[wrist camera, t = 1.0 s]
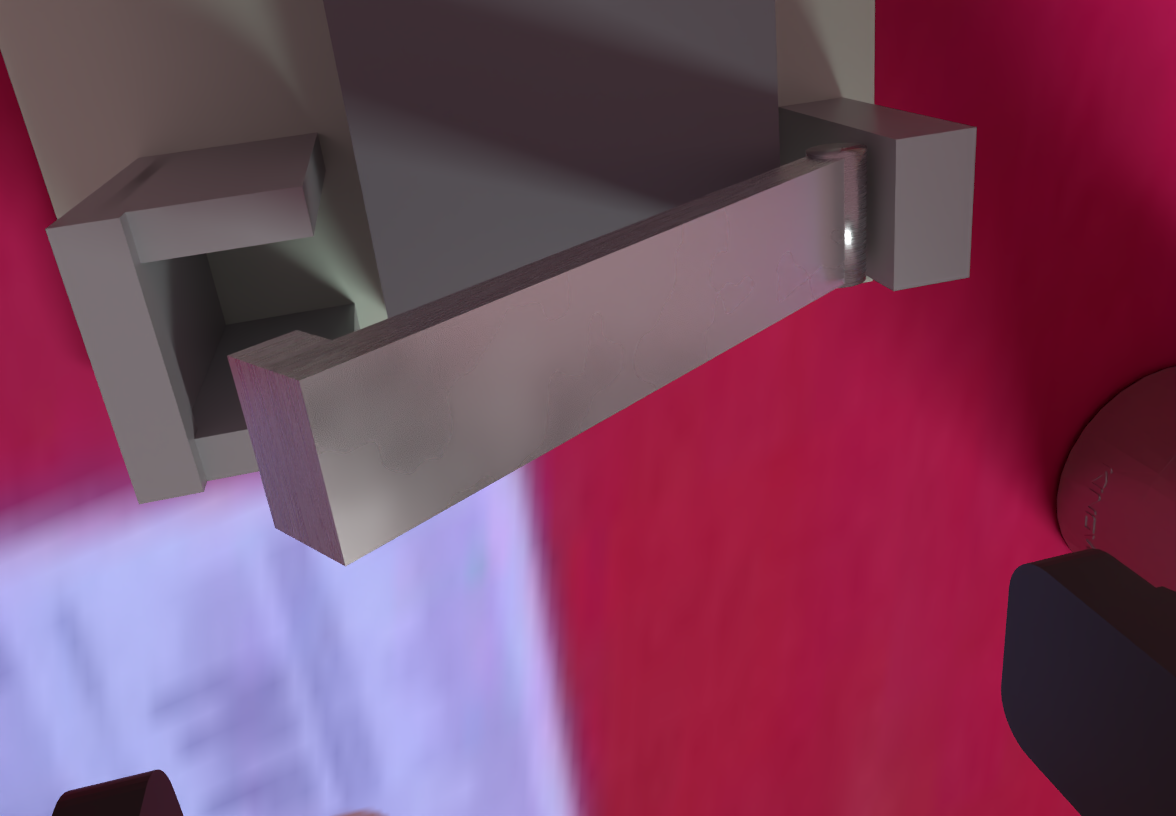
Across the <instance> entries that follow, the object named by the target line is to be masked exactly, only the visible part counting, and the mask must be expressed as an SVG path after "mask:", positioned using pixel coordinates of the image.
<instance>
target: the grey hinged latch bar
mask: <svg viewBox="0 0 1176 816" xmlns="http://www.w3.org/2000/svg"><path fill="white" fill-rule="evenodd" d="M866 219H867V146H866V145H864V144H860V143H831V144H823V145H818V146H814V147H810V148H808V149H807V150H806V157H804V158H801V159H799V160H796V161H793V162H791V163H788V164H786V165H783V166H780V167H778V168H775V169H773V170H770V171H768V172H765V173H762V174H760V175H757V176H755V177H752V178H749V179H747V180H744V181H742V182H739V183H737V184H734V185H731V186H729V187H726V188H724V189H721V190H719V191H716V192H713V193H711V194H708V195H706V196H703V197H700V198H698V199H695V200H693V201H690V202H688V203H685V204H682V205H680V206H677V207H675V208H672V209H669V210H667V211H664V212H662V213H659V214H657V215H654V216H651V217H649V218H646V219H644V220H641V221H639V222H636V223H633V224H631V225H628V226H626V227H623V228H620V229H618V230H615V231H613V232H610V233H608V234H605V235H602V236H600V237H597V238H595V239H592V240H589V241H587V242H584V243H582V244H579V245H577V246H574V247H571V248H569V249H566V250H564V251H561V252H559V253H556V254H553V255H551V256H548V257H546V258H543V259H540V260H538V261H535V262H533V263H530V264H528V265H525V266H522V267H520V268H517V269H515V270H512V271H509V272H507V273H504V274H502V275H499V276H497V277H494V278H491V279H489V280H486V281H484V282H481V283H479V284H476V285H473V286H471V287H468V288H466V289H463V290H460V291H458V292H455V293H453V294H450V295H448V296H445V297H442V298H440V299H437V300H435V301H432V302H429V303H427V304H424V305H422V306H419V307H417V308H414V309H411V310H409V311H406V312H404V313H401V314H399V315H396V316H393V317H391V318H388V319H386V320H383V321H380V322H378V323H375V324H373V325H370V326H368V327H365V328H362V329H360V330H357V331H355V332H352V333H349V334H347V335H344V336H342V337H339V338H337V339H334V340H330V339H326V338H323V337H319V336H316V335H312V334H309V333H305V332H302V331H299V330H295V331H292V332H290V333H287V334H284V335H281V336H279V337H276V338H273V339H271V340H268V341H265V342H263V343H260V344H257V345H254V346H252V347H249V348H246V349H244V350H241V351H238V352H235V353H233V354H230V355H227V357H228V361H229V364H230V368H231V372H232V375H233V379H234V382H235V386H236V389H237V393H238V397H239V400H240V404H241V407H242V411H243V414H244V418H245V422H246V425H247V429H248V432H249V436H250V440H251V443H252V447H253V450H254V454H255V457H256V461H257V465H258V468H259V472H260V475H261V479H262V483H263V486H264V490H265V493H266V497H267V500H268V504H269V508H270V511H271V515H272V518H273V522H274V526H275V528H276V529H278V530H280V531H282V532H284V533H285V534H287V535H289V536H291V537H293V538H295V539H296V540H298V541H300V542H302V543H304V544H306V545H307V546H309V547H311V548H313V549H315V550H317V551H318V552H320V553H322V554H324V555H326V556H328V557H329V558H331V559H333V560H335V561H337V562H339V563H340V564H342V565H344V566H347V565H349V564H350V563H352V562H354V561H356V560H357V559H359V558H361V557H363V556H365V555H366V554H368V553H370V552H372V551H373V550H375V549H377V548H379V547H380V546H382V545H384V544H386V543H388V542H389V541H391V540H393V539H395V538H396V537H398V536H400V535H402V534H403V533H405V532H407V531H409V530H410V529H412V528H414V527H416V526H418V525H419V524H421V523H423V522H425V521H426V520H428V519H430V518H432V517H433V516H435V515H437V514H439V513H440V512H442V511H444V510H446V509H448V508H449V507H451V506H453V505H455V504H456V503H458V502H460V501H462V500H463V499H465V498H467V497H469V496H470V495H472V494H474V493H476V492H478V491H479V490H481V489H483V488H485V487H486V486H488V485H490V484H492V483H493V482H495V481H497V480H499V479H501V478H502V477H504V476H506V475H508V474H509V473H511V472H513V471H515V470H516V469H518V468H520V467H522V466H523V465H525V464H527V463H529V462H531V461H532V460H534V459H536V458H538V457H539V456H541V455H543V454H545V453H546V452H548V451H550V450H552V449H553V448H555V447H557V446H559V445H561V444H562V443H564V442H566V441H568V440H569V439H571V438H573V437H575V436H576V435H578V434H580V433H582V432H583V431H585V430H587V429H589V428H591V427H592V426H594V425H596V424H598V423H599V422H601V421H603V420H605V419H606V418H608V417H610V416H612V415H613V414H615V413H617V412H619V411H621V410H622V409H624V408H626V407H628V406H629V405H631V404H633V403H635V402H636V401H638V400H640V399H642V398H644V397H645V396H647V395H649V394H651V393H652V392H654V391H656V390H658V389H659V388H661V387H663V386H665V385H666V384H668V383H670V382H672V381H674V380H675V379H677V378H679V377H681V376H682V375H684V374H686V373H688V372H689V371H691V370H693V369H695V368H696V367H698V366H700V365H702V364H704V363H705V362H707V361H709V360H711V359H712V358H714V357H716V356H718V355H719V354H721V353H723V352H725V351H726V350H728V349H730V348H732V347H734V346H735V345H737V344H739V343H741V342H742V341H744V340H746V339H748V338H749V337H751V336H753V335H755V334H757V333H758V332H760V331H762V330H764V329H765V328H767V327H769V326H771V325H772V324H774V323H776V322H778V321H779V320H781V319H783V318H785V317H787V316H788V315H790V314H792V313H794V312H795V311H797V310H799V309H801V308H802V307H804V306H806V305H808V304H809V303H811V302H813V301H815V300H817V299H818V298H820V297H822V296H824V295H825V294H827V293H829V292H831V291H832V290H834V289H836V288H843V287H850V286H855V285H858V284H861V283H863V282H864V281H865V280H866Z"/></svg>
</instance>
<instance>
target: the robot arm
mask: <svg viewBox="0 0 1176 816" xmlns="http://www.w3.org/2000/svg"><path fill="white" fill-rule="evenodd" d="M1057 518H1058V522H1059V526H1060V530H1061V533H1062V536H1063V538H1064V540H1065V541H1066V543H1067V545H1068V546H1069V548H1070V550H1071V551H1072V552H1073V553H1069V554H1065V555H1060V556H1056V557H1052V558H1048V559H1044V560H1040V561H1035V562H1031V563H1027V564H1023V565H1021V566H1019V567H1018V568H1017V569H1016V570H1015V571H1014V573H1013V574H1012V577H1011V580H1010V586H1009V596H1008V609H1007V621H1006V634H1005V646H1004V659H1003V671H1002V684H1001V695H1002V703H1003V708H1004V712H1005V715H1006V718H1007V721H1008V724H1009V726H1010V728H1011V731H1012V733H1013V735H1014V737H1015V738H1016V740H1017V742H1018V744H1019V745H1020V747H1021V748H1022V750H1023V751H1024V752H1025V753H1026V755H1027V756H1028V757H1029V758H1030V759H1031V760H1032V761H1033V763H1034V764H1035V765H1036V766H1037V767H1038V768H1039V769H1040V770H1041V771H1042V772H1043V774H1044V775H1045V776H1046V777H1047V778H1048V779H1049V780H1050V781H1051V782H1052V784H1053V785H1054V786H1055V787H1056V788H1057V789H1058V790H1059V791H1060V792H1061V793H1062V795H1063V796H1064V797H1065V798H1066V799H1067V800H1068V801H1069V802H1070V803H1071V805H1072V806H1073V807H1074V808H1075V809H1076V810H1077V811H1078V812H1079V813H1080V815H1081V816H1176V366H1174V367H1169V368H1166V369H1163V370H1161V371H1158V372H1156V373H1153V374H1151V375H1148V376H1146V377H1144V378H1142V379H1141V380H1139V381H1137V382H1136V383H1134V384H1132V385H1131V386H1129V387H1128V388H1126V389H1124V390H1123V391H1121V392H1120V393H1119V394H1118V395H1117V396H1116V397H1114V398H1113V399H1112V400H1111V401H1110V402H1109V403H1107V404H1106V405H1105V406H1104V407H1103V408H1102V409H1101V410H1100V411H1099V412H1098V413H1097V414H1096V416H1095V417H1094V418H1093V419H1092V420H1091V422H1090V423H1089V424H1088V425H1087V426H1086V427H1085V429H1084V430H1083V432H1082V433H1081V435H1080V437H1079V438H1078V440H1077V441H1076V443H1075V445H1074V446H1073V448H1072V450H1071V451H1070V454H1069V456H1068V459H1067V461H1066V464H1065V466H1064V469H1063V471H1062V474H1061V478H1060V483H1059V488H1058V493H1057ZM52 816H183V813H182V811H181V808H180V805H179V802H178V800H177V797H176V794H175V792H174V789H173V787H172V784H171V782H170V780H169V778H168V777H167V775H166V774H165V773H164V772H163V771H161V770H154V771H150V772H145V773H141V774H137V775H133V776H129V777H125V778H120V779H116V780H112V781H108V782H104V783H100V784H95V785H91V786H87V787H83V788H79V789H75V790H70V791H67V792H65V793H64V794H63V795H62V796H61V797H60V798H59V800H58V802H57V804H56V806H55V808H54V811H53V814H52Z"/></svg>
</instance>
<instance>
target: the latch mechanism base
mask: <svg viewBox="0 0 1176 816" xmlns="http://www.w3.org/2000/svg"><path fill="white" fill-rule="evenodd" d="M0 50H1V53H2V56H3V59H4V62H5V65H6V68H7V71H8V74H9V77H10V80H11V83H12V86H13V89H14V92H15V95H16V98H17V101H18V104H19V107H20V110H21V113H22V116H23V119H24V122H25V125H26V128H27V131H28V134H29V137H30V140H31V142H32V145H33V148H34V151H35V154H36V157H37V160H38V163H39V166H40V169H41V172H42V175H43V178H44V181H45V184H46V187H47V190H48V193H49V196H50V199H51V202H52V205H53V208H54V211H55V214H56V217H57V220H56V221H55V222H54V223H53V224H51V225H50V226H49V227H47V228H46V229H45V230H46V233H47V236H48V238H49V241H50V244H51V247H52V250H53V253H54V256H55V259H56V262H57V265H58V268H59V271H60V274H61V277H62V280H63V282H64V285H65V288H66V291H67V294H68V297H69V300H70V303H71V306H72V309H73V312H74V315H75V318H76V321H77V324H78V326H79V329H80V332H81V335H82V338H83V341H84V344H85V347H86V350H87V353H88V356H89V359H90V362H91V365H92V368H93V370H94V373H95V376H96V379H97V382H98V385H99V388H100V391H101V394H102V397H103V400H104V403H105V406H106V409H107V412H108V414H109V417H110V420H111V423H112V426H113V429H114V432H115V435H116V438H117V441H118V444H119V447H120V450H121V453H122V456H123V458H124V461H125V464H126V467H127V470H128V473H129V476H130V479H131V482H132V485H133V488H134V491H135V494H136V497H137V500H138V502H139V504H143V503H148V502H153V501H158V500H163V499H169V498H174V497H179V496H184V495H190V494H195V493H200V492H204V490H205V486H206V483H207V481H210V480H215V479H221V478H226V477H231V476H236V475H242V474H247V473H252V472H257V471H259V468H258V465H257V461H256V457H255V454H254V450H253V447H252V443H251V440H250V436H249V432H248V429H247V425H246V422H245V418H244V414H243V411H242V407H241V404H240V400H239V397H238V393H237V389H236V386H235V382H234V379H233V375H232V372H231V368H230V364H229V361H228V357H227V355H230V354H233V353H235V352H238V351H241V350H244V349H246V348H249V347H252V346H254V345H257V344H260V343H263V342H265V341H268V340H271V339H273V338H276V337H279V336H281V335H284V334H287V333H290V332H292V331H295V330H299V331H302V332H305V333H309V334H312V335H316V336H319V337H323V338H326V339H330V340H334V339H337V338H339V337H342V336H344V335H347V334H349V333H352V332H355V331H357V330H360V329H362V328H365V327H368V326H370V325H373V324H375V323H378V322H380V321H383V320H386V319H388V318H391V317H393V316H396V315H399V314H401V313H404V312H406V311H409V310H411V309H414V308H417V307H419V306H422V305H424V304H427V303H429V302H432V301H435V300H437V299H440V298H442V297H445V296H448V295H450V294H453V293H455V292H458V291H460V290H463V289H466V288H468V287H471V286H473V285H476V284H479V283H481V282H484V281H486V280H489V279H491V278H494V277H497V276H499V275H502V274H504V273H507V272H509V271H512V270H515V269H517V268H520V267H522V266H525V265H528V264H530V263H533V262H535V261H538V260H540V259H543V258H546V257H548V256H551V255H553V254H556V253H559V252H561V251H564V250H566V249H569V248H571V247H574V246H577V245H579V244H582V243H584V242H587V241H589V240H592V239H595V238H597V237H600V236H602V235H605V234H608V233H610V232H613V231H615V230H618V229H620V228H623V227H626V226H628V225H631V224H633V223H636V222H639V221H641V220H644V219H646V218H649V217H651V216H654V215H657V214H659V213H662V212H664V211H667V210H669V209H672V208H675V207H677V206H680V205H682V204H685V203H688V202H690V201H693V200H695V199H698V198H700V197H703V196H706V195H708V194H711V193H713V192H716V191H719V190H721V189H724V188H726V187H729V186H731V185H734V184H737V183H739V182H742V181H744V180H747V179H749V178H752V177H755V176H757V175H760V174H762V173H765V172H768V171H770V170H773V169H775V168H778V167H780V166H783V165H786V164H788V163H791V162H793V161H796V160H799V159H801V158H804V157H806V150H807V149H808V148H810V147H814V146H818V145H823V144H831V143H860V144H864V145H866V146H867V219H866V280H865V281H864V282H870V281H873V280H875V281H877V282H879V283H880V284H882V285H884V286H886V287H887V288H889V289H891V290H893V291H897V290H902V289H908V288H913V287H919V286H924V285H930V284H935V283H941V282H947V281H952V280H958V279H963V278H969V274H970V254H971V233H972V213H973V193H974V172H975V152H976V132H977V127H974V126H969V125H965V124H960V123H956V122H951V121H947V120H942V119H938V118H933V117H929V116H924V115H920V114H915V113H911V112H906V111H902V110H897V109H893V108H888V107H884V106H879V105H875V104H874V63H875V0H0ZM864 282H863V283H864Z"/></svg>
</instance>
